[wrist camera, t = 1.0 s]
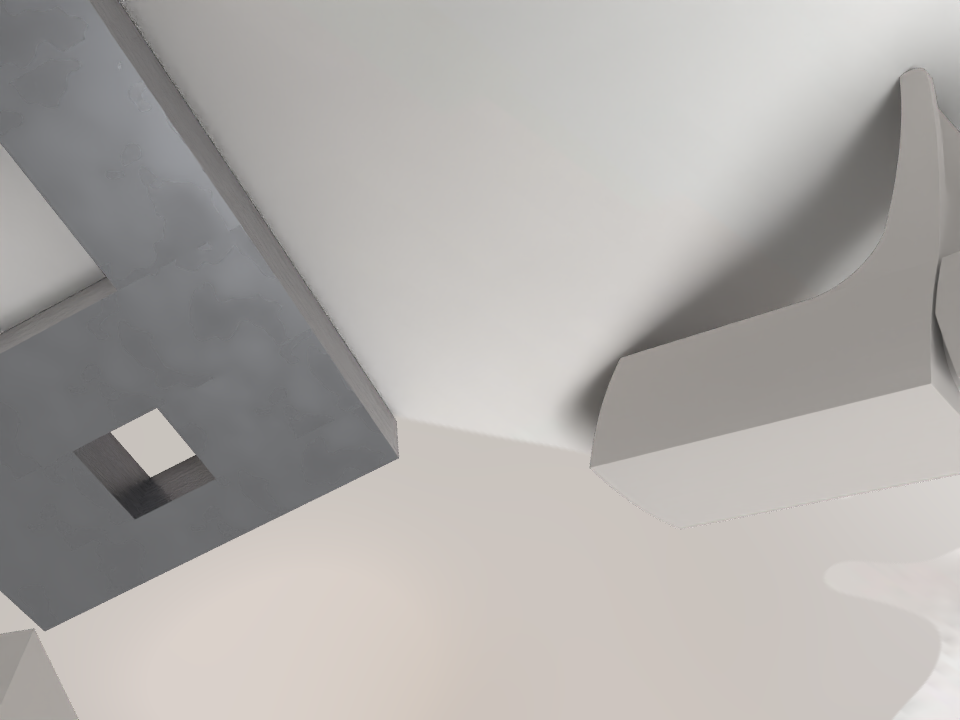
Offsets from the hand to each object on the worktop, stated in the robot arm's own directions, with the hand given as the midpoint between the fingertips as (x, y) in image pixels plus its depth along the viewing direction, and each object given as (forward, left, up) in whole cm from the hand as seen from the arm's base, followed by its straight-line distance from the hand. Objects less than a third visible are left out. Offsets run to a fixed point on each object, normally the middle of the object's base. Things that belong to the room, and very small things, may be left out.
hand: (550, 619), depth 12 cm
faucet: (+12, +11, -25) cm, 30 cm away
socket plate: (-1, -16, -25) cm, 29 cm away
